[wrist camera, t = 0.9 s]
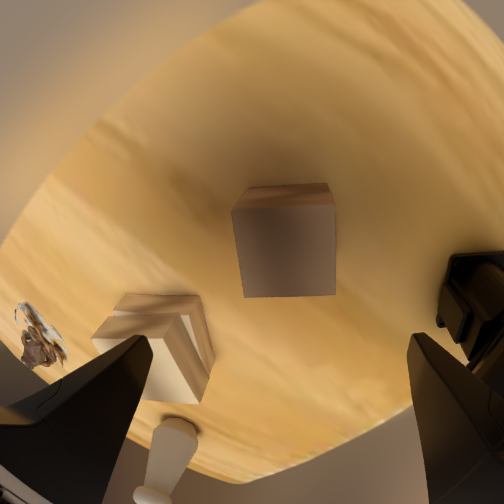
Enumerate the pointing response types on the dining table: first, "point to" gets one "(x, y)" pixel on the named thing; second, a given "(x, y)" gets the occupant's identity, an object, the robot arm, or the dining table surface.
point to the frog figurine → (39, 339)
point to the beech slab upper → (160, 355)
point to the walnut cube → (286, 240)
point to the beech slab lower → (184, 305)
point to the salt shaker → (167, 460)
